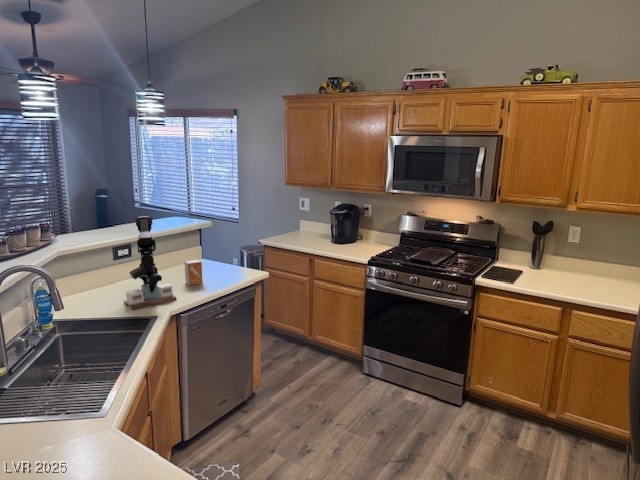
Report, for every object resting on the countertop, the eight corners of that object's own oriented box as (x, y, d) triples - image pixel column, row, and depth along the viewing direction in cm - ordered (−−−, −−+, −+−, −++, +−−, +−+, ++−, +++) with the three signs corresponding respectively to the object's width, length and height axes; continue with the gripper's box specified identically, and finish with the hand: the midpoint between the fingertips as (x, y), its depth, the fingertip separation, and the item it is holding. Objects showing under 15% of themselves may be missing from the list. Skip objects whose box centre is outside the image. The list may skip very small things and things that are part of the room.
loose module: (142, 296, 224) (141, 285, 223) (154, 293, 228) (153, 282, 227) (146, 298, 220) (145, 287, 219) (158, 296, 224) (157, 284, 223)
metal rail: (126, 302, 219) (125, 301, 219) (168, 292, 234) (168, 291, 234) (130, 305, 215) (130, 304, 215) (173, 295, 229) (173, 294, 229)
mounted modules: (126, 301, 219) (126, 291, 218) (167, 292, 233) (167, 283, 232) (131, 304, 215) (130, 294, 214) (173, 295, 229) (172, 285, 228)
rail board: (124, 303, 222) (123, 301, 221) (166, 294, 236) (166, 291, 236) (133, 310, 213) (132, 307, 213) (176, 299, 228) (176, 297, 227)
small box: (189, 285, 250) (187, 263, 248) (185, 283, 256) (184, 261, 253) (203, 283, 255) (201, 261, 252) (199, 280, 260) (198, 259, 257)
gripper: (123, 260, 222) (126, 290, 225) (138, 268, 208) (140, 299, 211) (146, 257, 229) (148, 286, 232) (161, 264, 216) (163, 294, 219)
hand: (149, 291), depth 223 cm, fingers closed on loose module, 5 cm apart
